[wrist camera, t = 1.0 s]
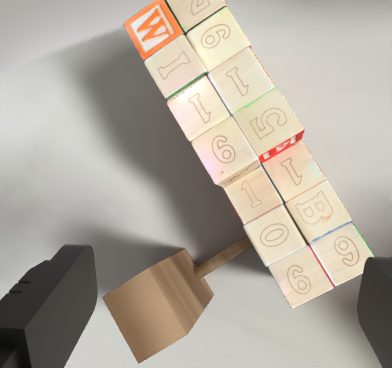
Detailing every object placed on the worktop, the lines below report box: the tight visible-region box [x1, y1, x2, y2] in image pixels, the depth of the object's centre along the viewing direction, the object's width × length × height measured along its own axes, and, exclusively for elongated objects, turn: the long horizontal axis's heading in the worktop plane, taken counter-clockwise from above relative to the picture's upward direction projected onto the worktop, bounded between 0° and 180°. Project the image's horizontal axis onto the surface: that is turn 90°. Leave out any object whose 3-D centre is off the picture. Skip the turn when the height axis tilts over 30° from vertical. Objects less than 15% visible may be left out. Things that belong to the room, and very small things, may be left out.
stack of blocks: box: [123, 0, 375, 309], centre depth 26 cm, size 21×6×12 cm, turn 29°
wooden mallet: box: [102, 235, 253, 364], centre depth 28 cm, size 10×5×10 cm, turn 123°
